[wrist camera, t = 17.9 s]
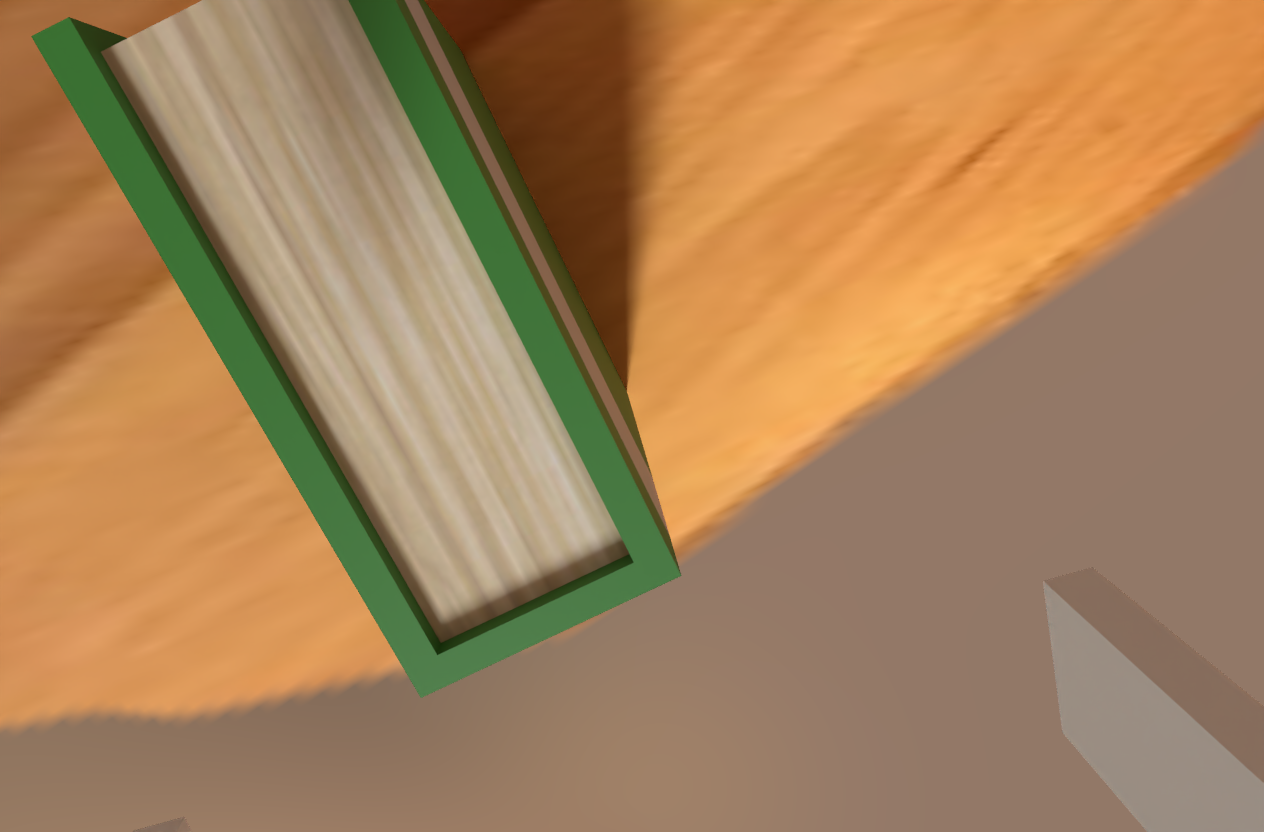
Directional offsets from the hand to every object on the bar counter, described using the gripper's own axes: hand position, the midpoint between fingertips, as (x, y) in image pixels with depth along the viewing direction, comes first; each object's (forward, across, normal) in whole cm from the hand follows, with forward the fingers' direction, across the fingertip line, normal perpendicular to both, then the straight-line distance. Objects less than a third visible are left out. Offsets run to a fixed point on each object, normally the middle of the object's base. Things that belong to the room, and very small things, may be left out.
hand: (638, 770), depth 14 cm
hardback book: (+35, -3, +4) cm, 35 cm away
